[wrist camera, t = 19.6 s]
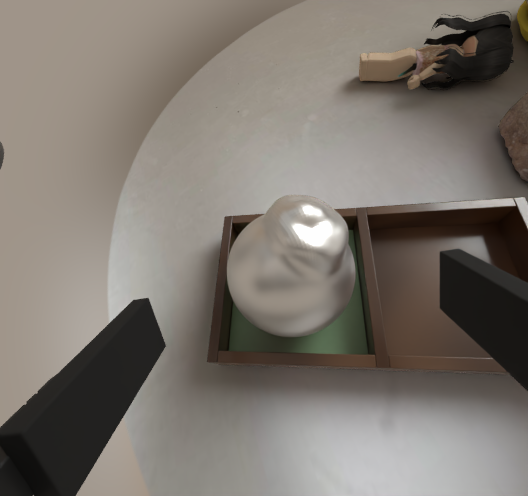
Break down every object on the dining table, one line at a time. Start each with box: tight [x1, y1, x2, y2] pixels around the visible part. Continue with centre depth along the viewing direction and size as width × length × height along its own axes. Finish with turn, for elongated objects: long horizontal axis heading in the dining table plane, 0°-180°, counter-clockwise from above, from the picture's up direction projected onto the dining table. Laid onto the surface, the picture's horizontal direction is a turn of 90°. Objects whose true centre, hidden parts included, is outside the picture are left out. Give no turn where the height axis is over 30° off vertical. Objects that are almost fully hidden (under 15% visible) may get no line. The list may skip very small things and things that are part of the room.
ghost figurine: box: [227, 195, 356, 337], centre depth 19 cm, size 9×9×10 cm
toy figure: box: [359, 11, 513, 90], centre depth 30 cm, size 7×6×15 cm
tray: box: [207, 197, 528, 375], centre depth 21 cm, size 24×12×3 cm, turn 88°
